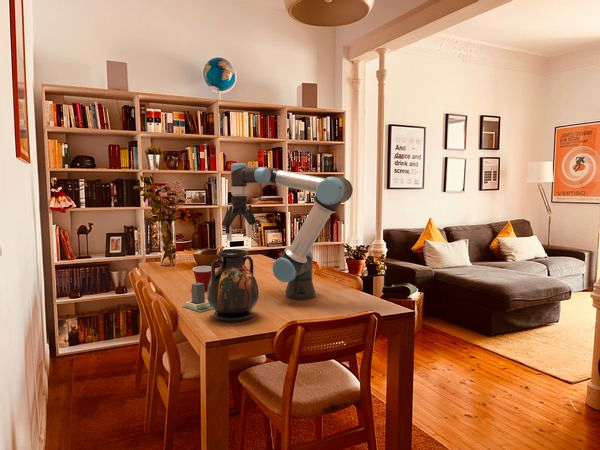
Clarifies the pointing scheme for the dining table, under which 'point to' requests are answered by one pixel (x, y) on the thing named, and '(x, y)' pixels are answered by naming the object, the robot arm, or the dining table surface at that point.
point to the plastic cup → (203, 275)
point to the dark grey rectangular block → (198, 293)
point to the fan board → (198, 306)
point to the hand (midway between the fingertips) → (239, 239)
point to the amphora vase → (232, 287)
